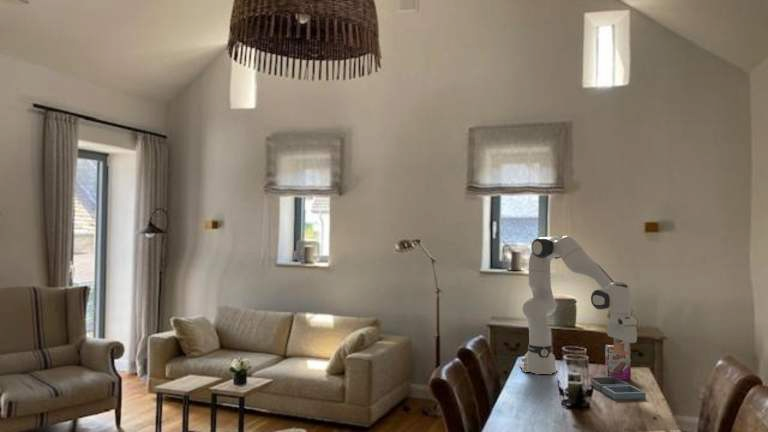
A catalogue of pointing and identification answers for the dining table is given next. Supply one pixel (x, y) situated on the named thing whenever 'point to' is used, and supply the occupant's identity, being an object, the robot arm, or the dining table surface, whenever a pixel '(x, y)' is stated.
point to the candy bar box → (617, 364)
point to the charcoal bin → (606, 382)
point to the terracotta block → (620, 349)
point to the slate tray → (624, 392)
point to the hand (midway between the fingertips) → (621, 349)
